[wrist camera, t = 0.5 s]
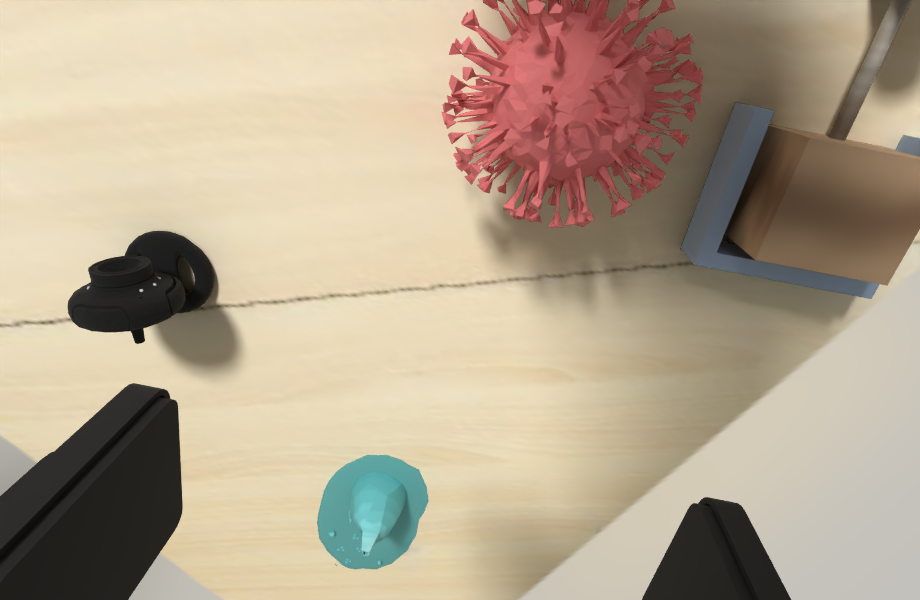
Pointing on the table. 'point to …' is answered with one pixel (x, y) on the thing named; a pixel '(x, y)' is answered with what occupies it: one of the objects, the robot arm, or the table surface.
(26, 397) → the table surface
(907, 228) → the tether block
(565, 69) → the virus model
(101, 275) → the webcam
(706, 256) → the blue-grey u-shaped piece
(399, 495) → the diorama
